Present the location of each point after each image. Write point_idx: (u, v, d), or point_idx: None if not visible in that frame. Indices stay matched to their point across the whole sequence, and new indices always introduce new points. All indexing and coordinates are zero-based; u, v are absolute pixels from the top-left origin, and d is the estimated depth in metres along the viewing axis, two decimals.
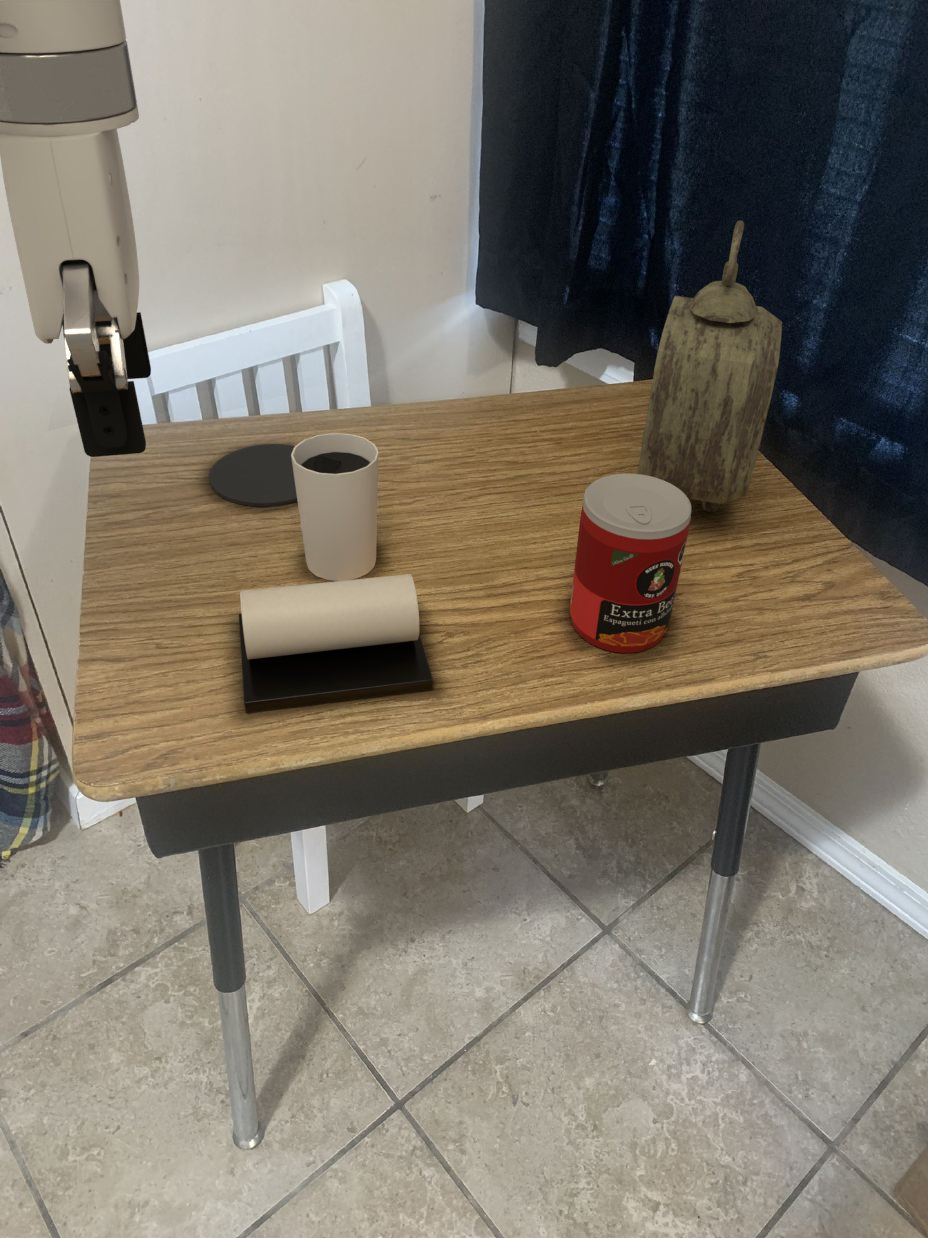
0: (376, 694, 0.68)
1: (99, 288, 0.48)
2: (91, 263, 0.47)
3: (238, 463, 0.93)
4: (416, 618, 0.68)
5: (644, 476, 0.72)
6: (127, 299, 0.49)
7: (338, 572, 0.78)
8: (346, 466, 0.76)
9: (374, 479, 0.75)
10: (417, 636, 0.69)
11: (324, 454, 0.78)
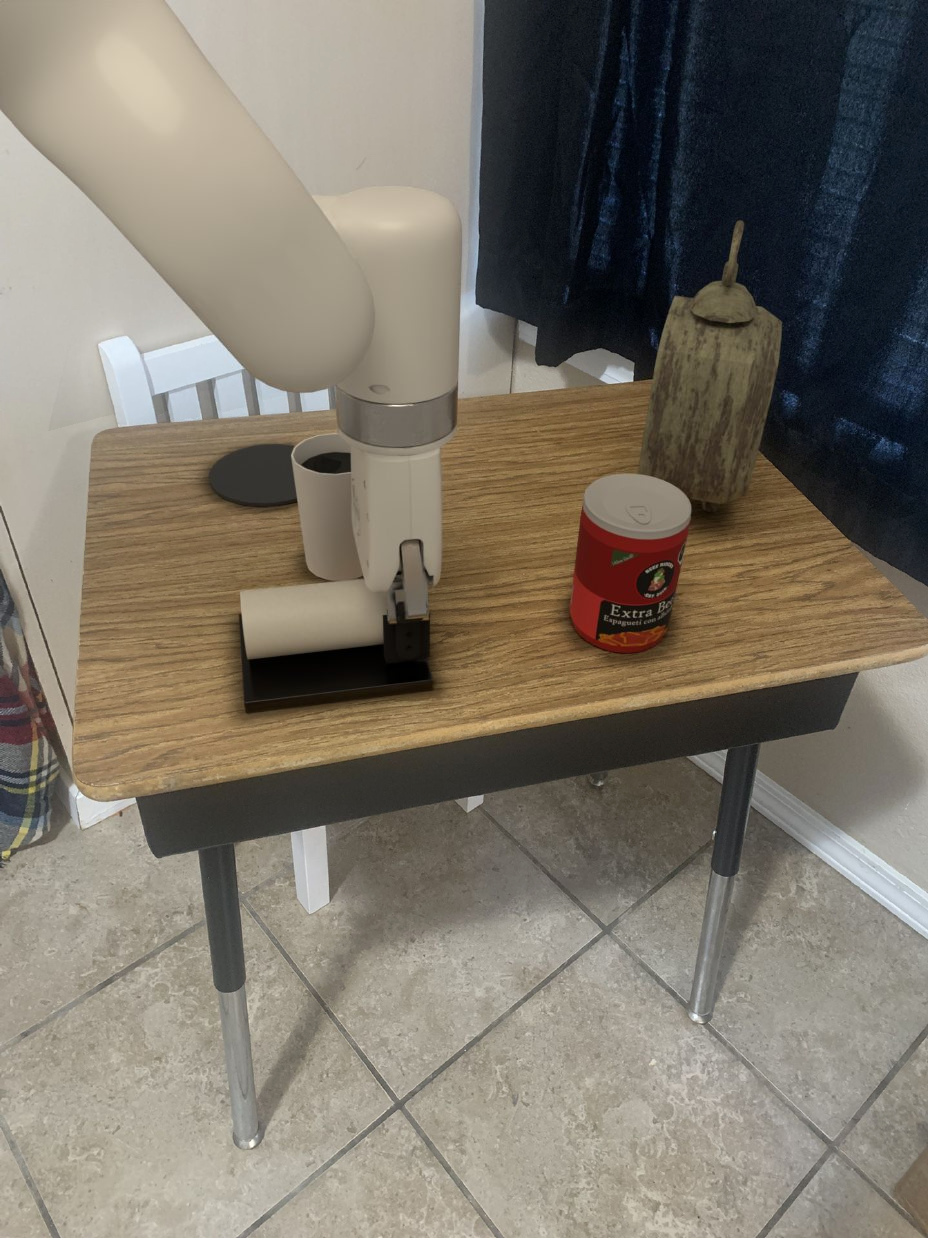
0: (376, 694, 0.68)
1: (425, 557, 0.62)
2: (423, 548, 0.61)
3: (238, 463, 0.93)
4: None
5: (644, 476, 0.72)
6: (441, 561, 0.63)
7: (338, 572, 0.78)
8: (346, 466, 0.76)
9: None
10: None
11: (324, 454, 0.78)
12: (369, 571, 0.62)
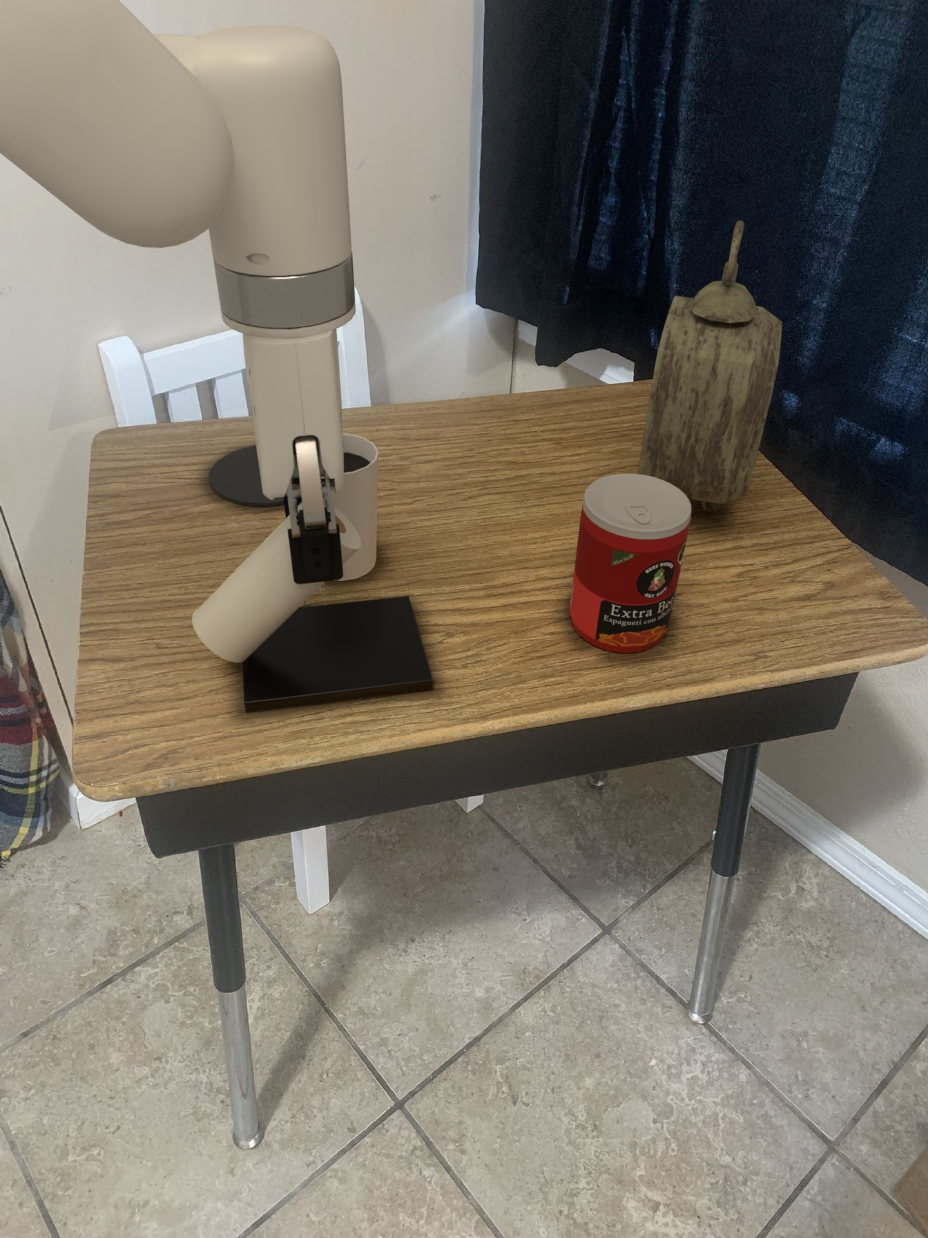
0: (376, 694, 0.68)
1: (323, 456, 0.56)
2: (319, 446, 0.56)
3: (238, 463, 0.93)
4: None
5: (644, 476, 0.72)
6: (343, 462, 0.57)
7: None
8: (346, 466, 0.76)
9: (374, 479, 0.75)
10: (348, 548, 0.63)
11: None
12: (262, 474, 0.56)
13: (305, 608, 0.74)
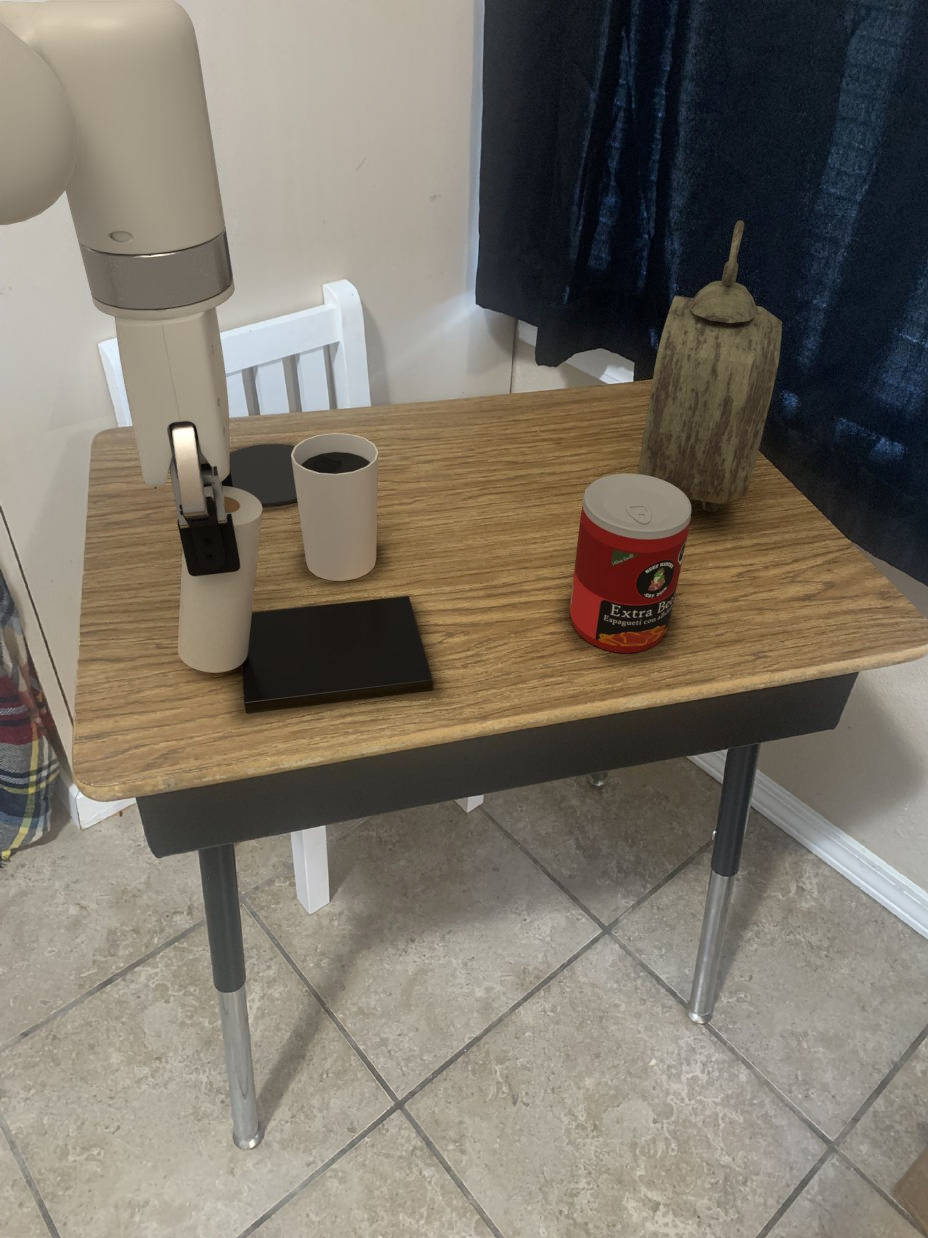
0: (376, 694, 0.68)
1: (202, 443, 0.54)
2: (197, 433, 0.53)
3: (238, 463, 0.93)
4: None
5: (644, 476, 0.72)
6: (225, 449, 0.55)
7: (338, 572, 0.78)
8: (346, 466, 0.76)
9: (374, 479, 0.75)
10: (240, 525, 0.61)
11: (324, 454, 0.78)
12: (140, 462, 0.54)
13: (305, 608, 0.74)
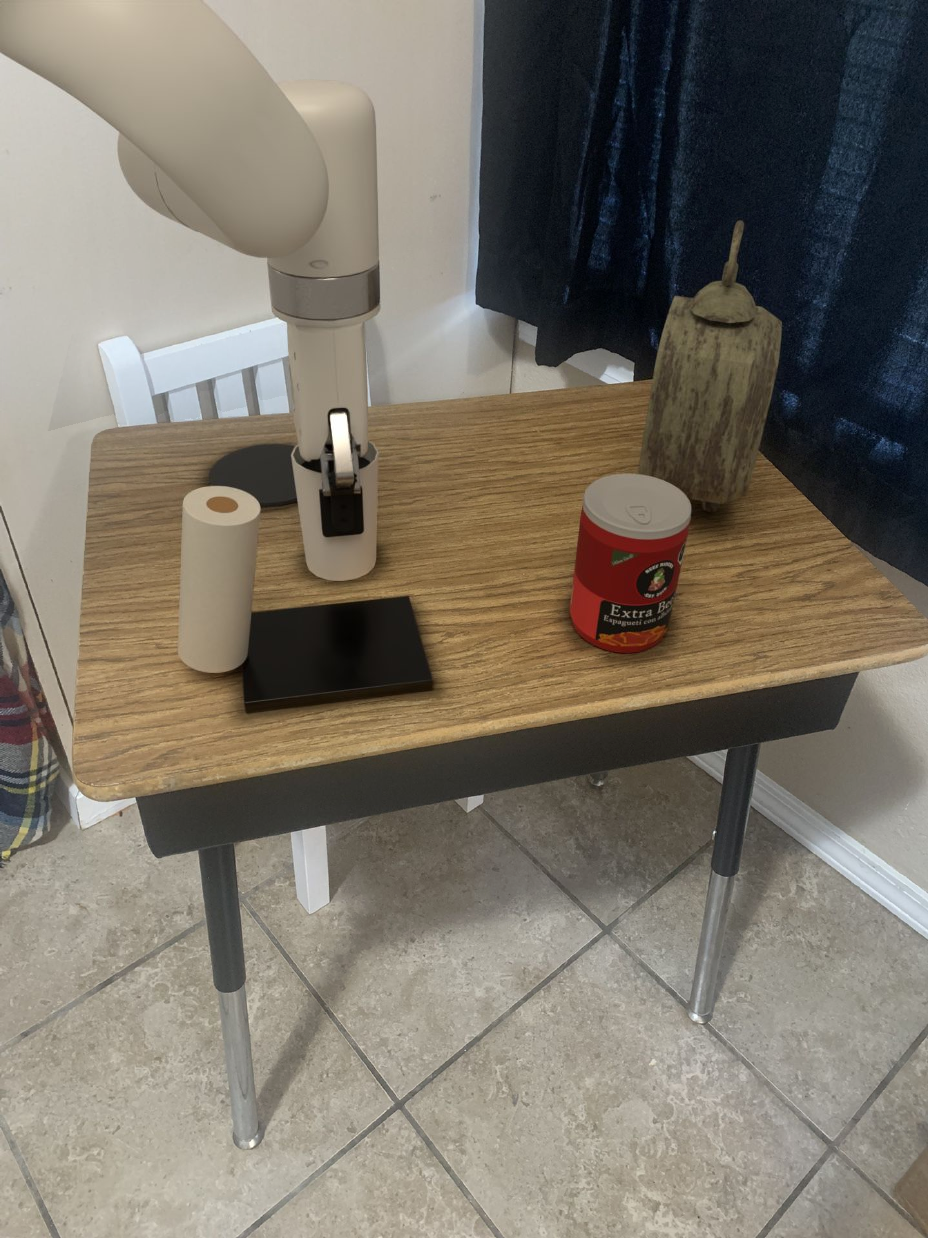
0: (376, 694, 0.68)
1: (352, 426, 0.68)
2: (349, 416, 0.68)
3: (238, 463, 0.93)
4: (210, 526, 0.60)
5: (644, 476, 0.72)
6: (367, 431, 0.69)
7: (338, 572, 0.78)
8: None
9: (374, 479, 0.75)
10: (238, 525, 0.61)
11: None
12: (301, 439, 0.69)
13: (305, 608, 0.74)
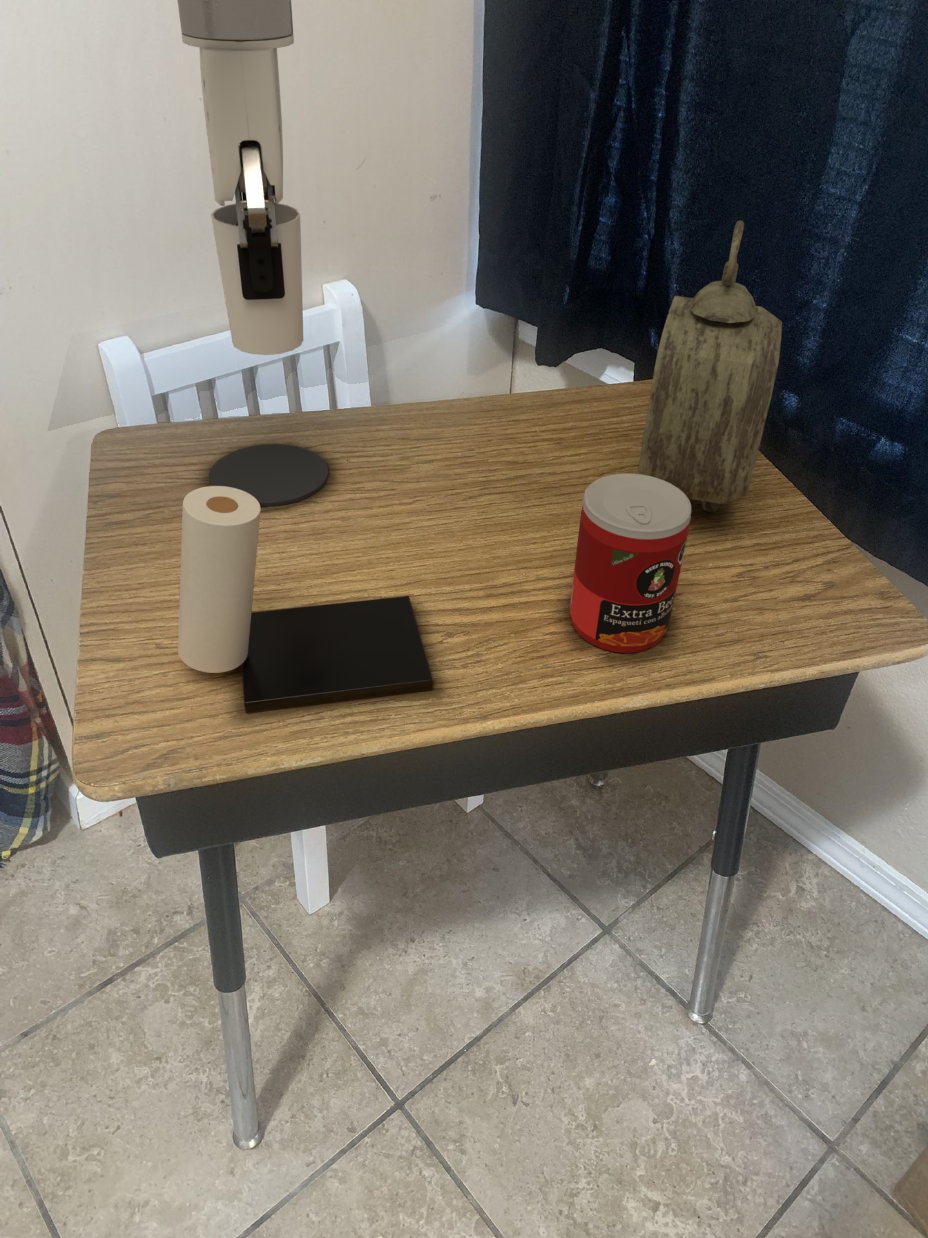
0: (376, 694, 0.68)
1: (264, 162, 0.68)
2: (261, 151, 0.67)
3: (238, 463, 0.93)
4: (210, 526, 0.60)
5: (644, 476, 0.72)
6: (282, 172, 0.69)
7: (262, 344, 0.78)
8: None
9: (295, 241, 0.74)
10: (238, 525, 0.61)
11: None
12: (214, 177, 0.68)
13: (305, 608, 0.74)
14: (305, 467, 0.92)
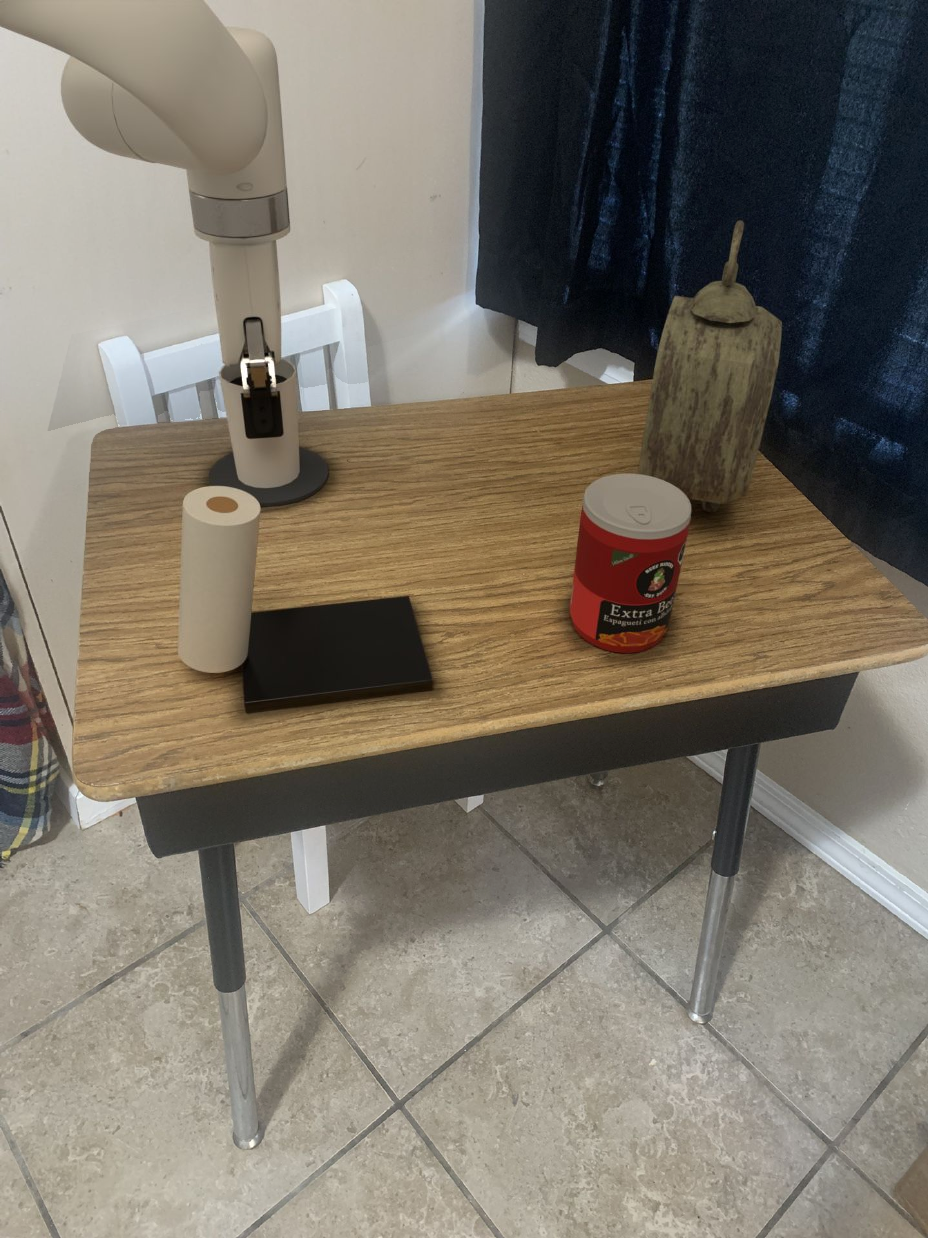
0: (376, 694, 0.68)
1: (265, 333, 0.78)
2: (262, 319, 0.77)
3: None
4: (210, 526, 0.60)
5: (644, 476, 0.72)
6: (280, 340, 0.79)
7: (263, 480, 0.89)
8: None
9: (292, 394, 0.85)
10: (238, 525, 0.61)
11: None
12: (222, 346, 0.79)
13: (305, 608, 0.74)
14: (305, 467, 0.92)
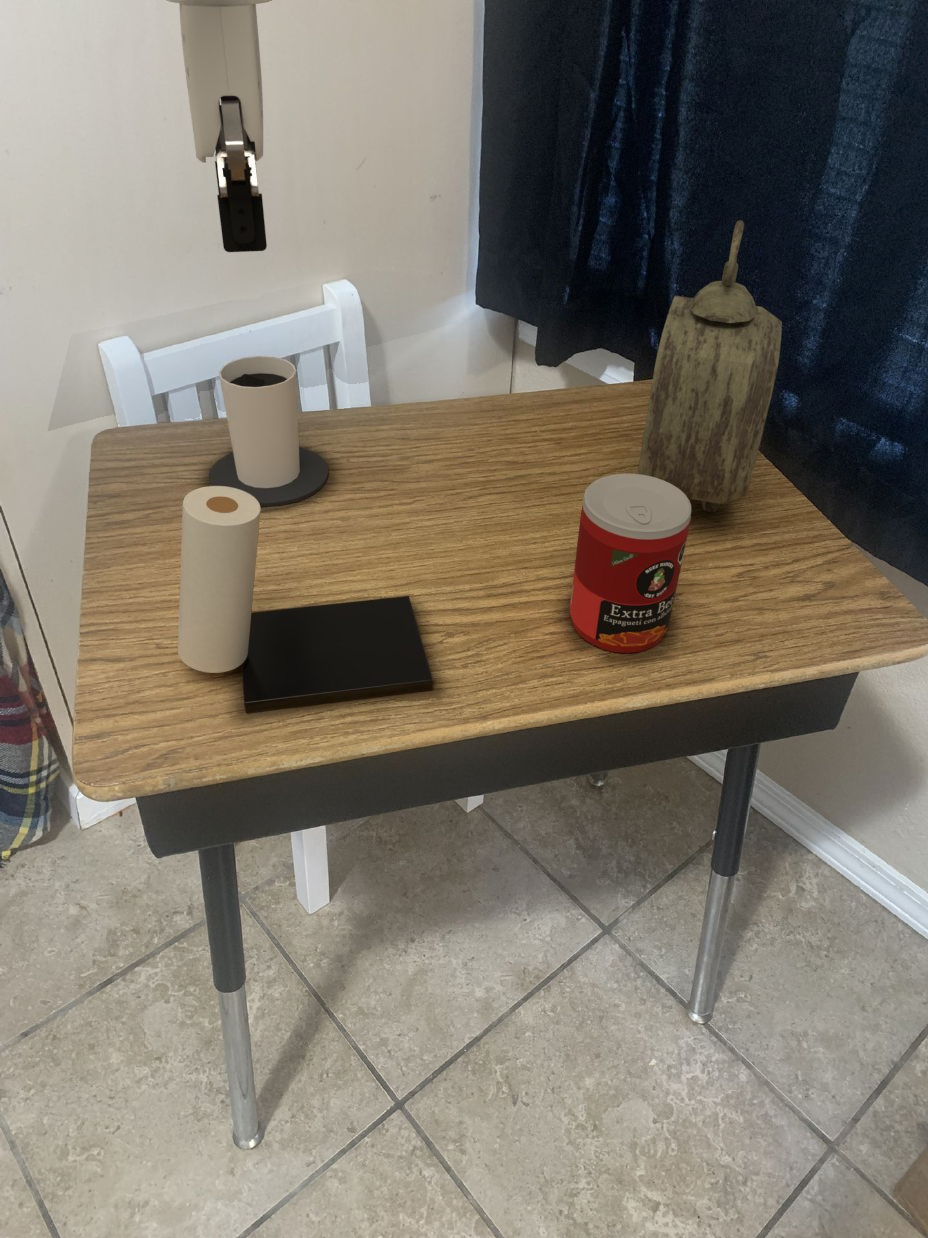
0: (376, 694, 0.68)
1: (244, 118, 0.69)
2: (240, 98, 0.68)
3: None
4: (210, 526, 0.60)
5: (644, 476, 0.72)
6: (261, 129, 0.70)
7: (263, 480, 0.89)
8: (269, 384, 0.87)
9: (292, 394, 0.85)
10: (238, 525, 0.61)
11: (250, 375, 0.88)
12: (195, 133, 0.69)
13: (305, 608, 0.74)
14: (305, 467, 0.92)
